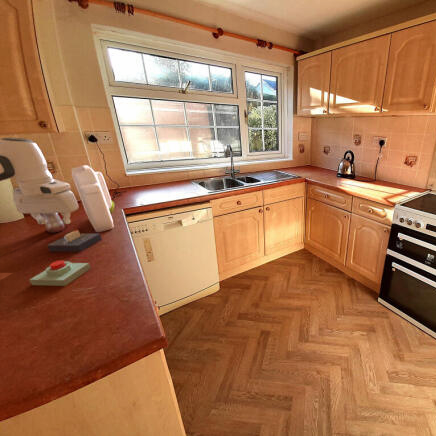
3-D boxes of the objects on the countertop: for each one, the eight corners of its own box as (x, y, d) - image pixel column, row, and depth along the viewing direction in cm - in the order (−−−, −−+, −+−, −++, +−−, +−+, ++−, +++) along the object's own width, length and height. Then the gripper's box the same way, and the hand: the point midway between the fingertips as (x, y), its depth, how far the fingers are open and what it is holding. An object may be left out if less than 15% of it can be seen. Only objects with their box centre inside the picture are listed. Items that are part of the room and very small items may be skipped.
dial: (70, 241, 102) (67, 234, 101) (67, 241, 102) (64, 234, 101) (80, 236, 107) (78, 229, 106) (78, 236, 107) (75, 229, 106)
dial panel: (49, 251, 101) (46, 244, 100) (73, 239, 111) (70, 233, 110) (80, 251, 100) (77, 245, 99) (101, 239, 110) (99, 233, 109)
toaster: (124, 228, 121) (104, 168, 109) (96, 236, 114) (72, 172, 102) (113, 215, 139) (94, 162, 128) (88, 221, 132) (67, 165, 120)
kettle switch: (48, 270, 81) (46, 266, 81) (59, 264, 85) (56, 260, 84) (58, 270, 81) (56, 266, 80) (68, 264, 84) (66, 260, 84)
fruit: (94, 218, 135) (88, 201, 131) (101, 213, 143) (95, 196, 140) (113, 216, 138) (107, 199, 134) (118, 210, 146) (113, 194, 142)
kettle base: (32, 285, 80) (26, 275, 78) (60, 267, 89) (56, 258, 88) (65, 285, 79) (60, 275, 77) (91, 268, 88) (87, 258, 87)
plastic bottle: (48, 231, 121) (30, 192, 113) (66, 227, 125) (50, 189, 117) (47, 235, 116) (29, 195, 109) (66, 231, 120) (49, 192, 113)
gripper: (0, 190, 82) (19, 227, 87) (57, 188, 80) (73, 226, 86) (20, 185, 87) (37, 220, 93) (74, 183, 86) (88, 219, 91)
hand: (55, 223), depth 89 cm, fingers open, 8 cm apart
